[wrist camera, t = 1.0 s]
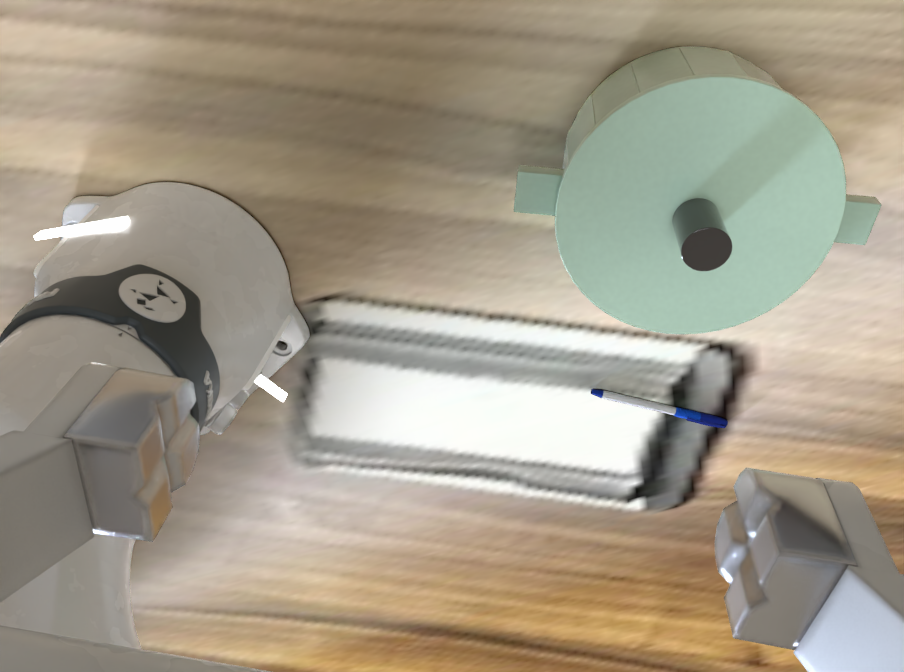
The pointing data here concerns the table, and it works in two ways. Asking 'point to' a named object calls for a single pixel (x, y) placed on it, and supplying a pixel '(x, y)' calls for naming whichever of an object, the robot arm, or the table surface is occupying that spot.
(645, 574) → the table surface
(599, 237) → the pot lid
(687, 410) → the ballpoint pen
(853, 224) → the pot
